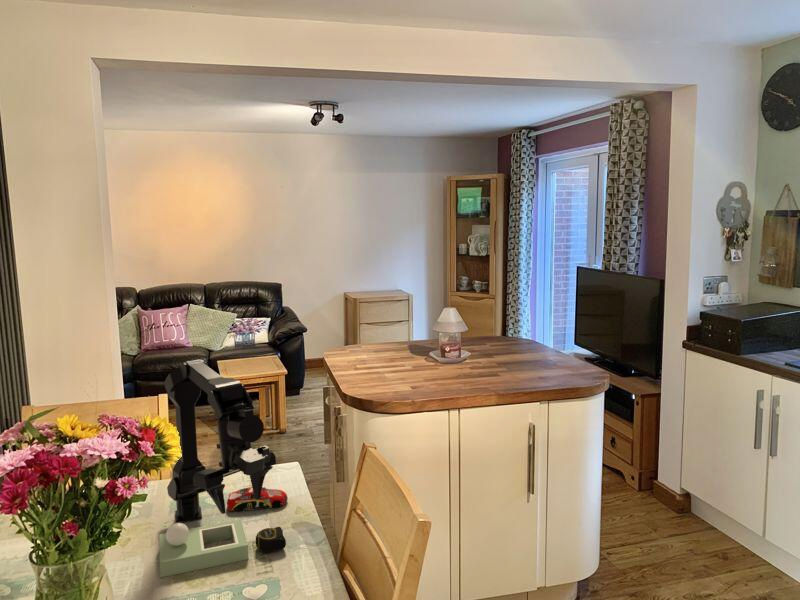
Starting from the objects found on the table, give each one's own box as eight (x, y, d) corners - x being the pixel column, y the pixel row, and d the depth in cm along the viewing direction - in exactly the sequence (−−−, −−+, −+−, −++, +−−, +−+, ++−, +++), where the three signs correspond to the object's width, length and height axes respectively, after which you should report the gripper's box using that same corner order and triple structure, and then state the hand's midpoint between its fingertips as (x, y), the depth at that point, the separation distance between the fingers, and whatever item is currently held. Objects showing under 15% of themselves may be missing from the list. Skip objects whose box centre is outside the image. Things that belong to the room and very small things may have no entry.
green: (160, 548, 145) (159, 534, 145) (241, 532, 152) (240, 519, 151) (160, 577, 133) (159, 562, 133) (248, 559, 140) (247, 544, 139)
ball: (166, 541, 141) (165, 521, 141) (189, 537, 143) (187, 517, 143) (166, 552, 137) (165, 531, 136) (190, 547, 139) (188, 527, 138)
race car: (287, 497, 172) (287, 481, 171) (287, 508, 165) (287, 491, 164) (228, 502, 169) (227, 486, 168) (226, 514, 162) (225, 496, 161)
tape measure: (286, 552, 143) (286, 537, 142) (257, 557, 141) (256, 542, 140) (283, 538, 149) (282, 524, 149) (254, 543, 147) (254, 528, 147)
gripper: (216, 451, 123) (226, 527, 123) (287, 429, 138) (296, 496, 138) (187, 447, 130) (196, 519, 130) (257, 426, 145) (265, 491, 145)
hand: (240, 506), depth 136 cm, fingers open, 9 cm apart
